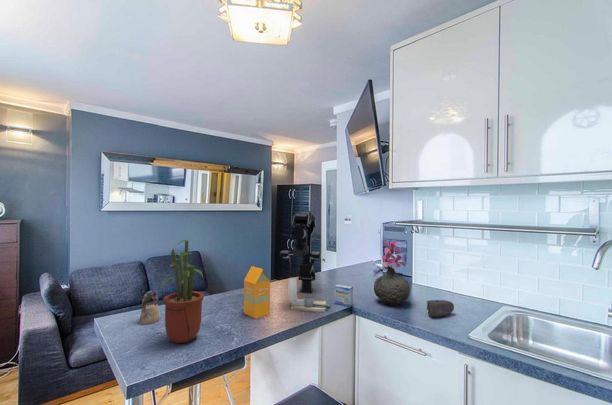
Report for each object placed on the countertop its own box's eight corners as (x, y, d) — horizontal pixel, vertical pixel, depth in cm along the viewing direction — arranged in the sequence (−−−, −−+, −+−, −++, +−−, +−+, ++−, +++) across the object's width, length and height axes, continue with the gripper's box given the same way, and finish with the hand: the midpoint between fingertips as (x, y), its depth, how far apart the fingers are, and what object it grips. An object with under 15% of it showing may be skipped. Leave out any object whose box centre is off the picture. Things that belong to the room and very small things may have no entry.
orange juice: (258, 308, 132) (258, 264, 132) (269, 314, 126) (270, 268, 126) (243, 313, 127) (243, 267, 127) (254, 319, 120) (255, 270, 121)
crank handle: (329, 305, 133) (329, 280, 133) (327, 309, 129) (327, 283, 129) (289, 301, 138) (290, 277, 138) (286, 304, 134) (287, 279, 134)
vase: (416, 304, 142) (417, 242, 142) (395, 312, 131) (396, 245, 131) (387, 295, 155) (387, 239, 155) (365, 301, 144) (366, 241, 144)
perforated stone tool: (449, 311, 132) (449, 296, 133) (458, 316, 128) (458, 300, 128) (422, 315, 128) (422, 299, 128) (430, 319, 123) (431, 303, 123)
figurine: (146, 317, 120) (146, 288, 121) (163, 317, 120) (163, 288, 120) (135, 324, 113) (136, 293, 113) (153, 324, 113) (154, 294, 113)
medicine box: (334, 304, 140) (334, 286, 140) (337, 301, 144) (338, 283, 144) (349, 307, 136) (350, 288, 136) (353, 304, 140) (353, 286, 140)
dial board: (294, 301, 143) (294, 298, 143) (332, 303, 141) (332, 300, 141) (290, 309, 131) (290, 307, 131) (332, 312, 129) (332, 309, 129)
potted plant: (207, 341, 100) (209, 240, 100) (157, 354, 91) (159, 243, 91) (194, 324, 114) (196, 235, 115) (150, 333, 105) (151, 237, 106)
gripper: (277, 239, 130) (276, 274, 128) (319, 240, 128) (318, 276, 126) (282, 238, 141) (281, 271, 139) (321, 240, 139) (320, 273, 137)
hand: (299, 273), depth 135 cm, fingers open, 9 cm apart
